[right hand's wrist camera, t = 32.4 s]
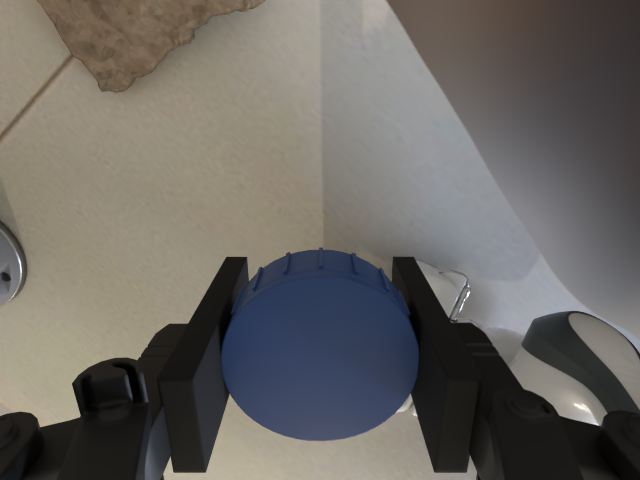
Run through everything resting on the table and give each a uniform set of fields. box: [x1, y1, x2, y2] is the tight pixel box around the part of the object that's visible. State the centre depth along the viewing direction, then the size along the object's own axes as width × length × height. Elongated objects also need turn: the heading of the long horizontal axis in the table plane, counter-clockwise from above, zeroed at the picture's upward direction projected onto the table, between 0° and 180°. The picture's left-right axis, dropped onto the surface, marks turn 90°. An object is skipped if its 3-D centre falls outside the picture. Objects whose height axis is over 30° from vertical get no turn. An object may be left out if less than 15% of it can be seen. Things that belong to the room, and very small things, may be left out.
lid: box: [221, 248, 419, 441], centre depth 11 cm, size 6×6×2 cm
